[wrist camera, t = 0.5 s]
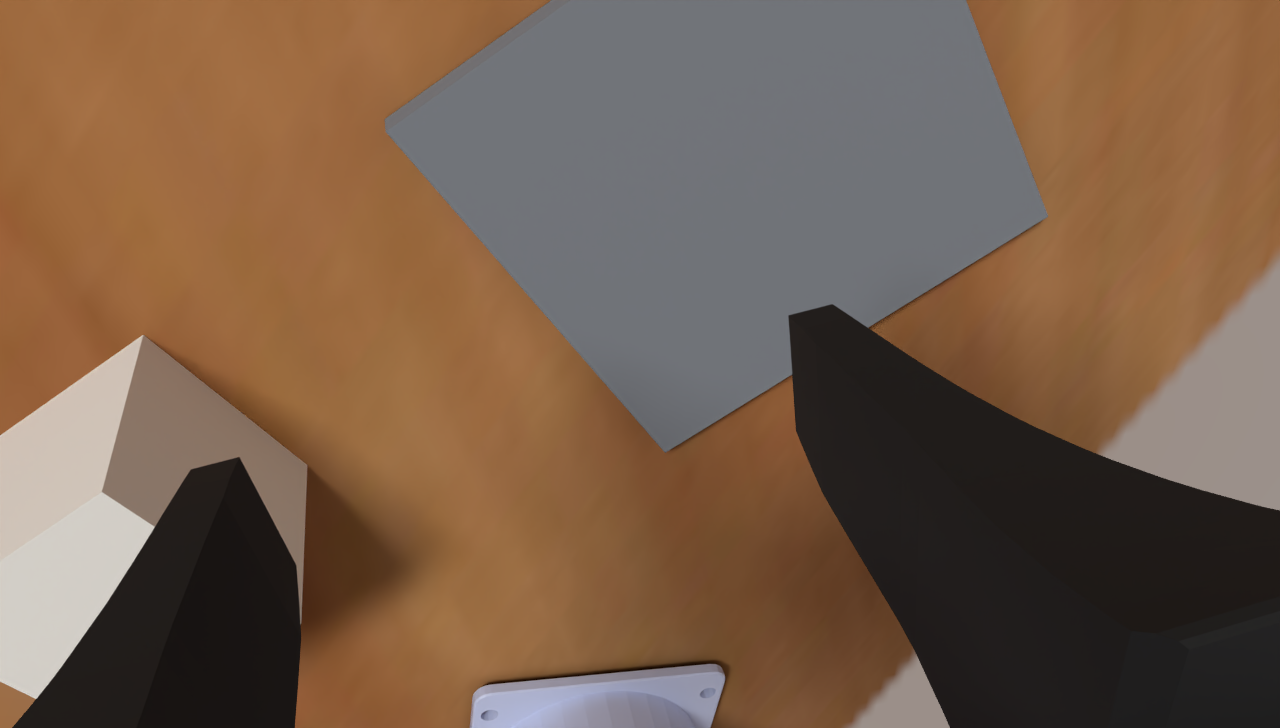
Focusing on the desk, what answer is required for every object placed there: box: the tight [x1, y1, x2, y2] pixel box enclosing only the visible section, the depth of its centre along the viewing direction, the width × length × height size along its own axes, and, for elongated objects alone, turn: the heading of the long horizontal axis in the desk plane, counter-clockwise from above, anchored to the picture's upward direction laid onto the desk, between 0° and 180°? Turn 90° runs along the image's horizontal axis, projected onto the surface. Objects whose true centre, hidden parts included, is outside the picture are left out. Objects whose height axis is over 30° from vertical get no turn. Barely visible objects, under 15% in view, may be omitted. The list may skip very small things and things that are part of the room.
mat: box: [385, 0, 1048, 453], centre depth 23 cm, size 11×11×1 cm
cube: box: [0, 335, 307, 699], centre depth 22 cm, size 5×5×5 cm
